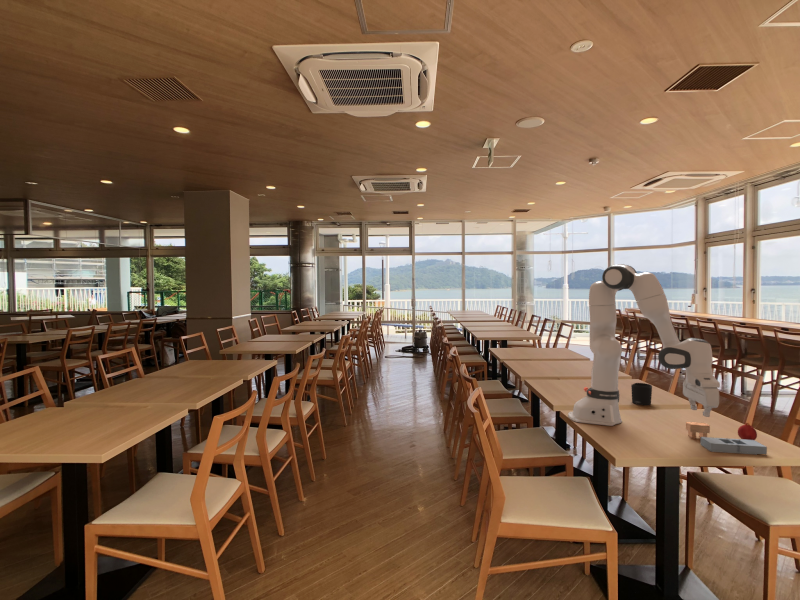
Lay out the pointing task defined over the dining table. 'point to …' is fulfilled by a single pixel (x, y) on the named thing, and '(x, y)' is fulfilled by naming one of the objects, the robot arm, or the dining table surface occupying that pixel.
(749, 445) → the grey flat block
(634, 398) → the pen holder
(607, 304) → the robot arm
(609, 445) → the dining table surface
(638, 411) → the dining table surface
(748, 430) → the onion
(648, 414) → the dining table surface
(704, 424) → the clip
